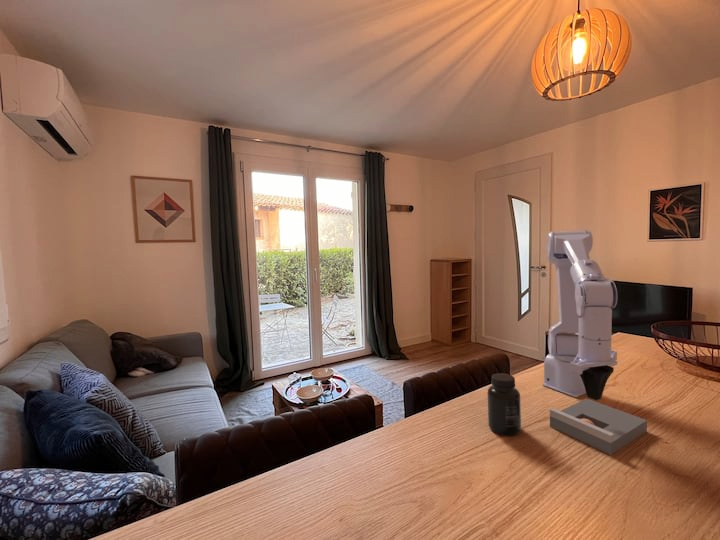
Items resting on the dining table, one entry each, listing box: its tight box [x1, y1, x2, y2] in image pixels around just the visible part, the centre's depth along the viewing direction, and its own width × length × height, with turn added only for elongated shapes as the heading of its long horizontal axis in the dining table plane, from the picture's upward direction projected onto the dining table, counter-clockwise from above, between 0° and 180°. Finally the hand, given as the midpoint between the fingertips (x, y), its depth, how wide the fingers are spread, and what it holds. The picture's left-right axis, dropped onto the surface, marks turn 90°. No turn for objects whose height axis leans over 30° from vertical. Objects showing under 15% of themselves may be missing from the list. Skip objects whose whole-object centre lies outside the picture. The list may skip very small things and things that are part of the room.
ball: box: [580, 419, 595, 426], centre depth 70 cm, size 4×4×4 cm
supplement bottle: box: [487, 372, 522, 437], centre depth 74 cm, size 7×7×12 cm
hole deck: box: [549, 397, 648, 456], centre depth 72 cm, size 12×15×4 cm
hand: (593, 397), depth 71 cm, fingers closed
